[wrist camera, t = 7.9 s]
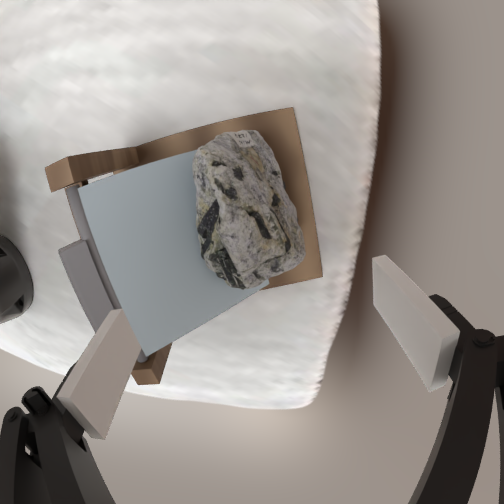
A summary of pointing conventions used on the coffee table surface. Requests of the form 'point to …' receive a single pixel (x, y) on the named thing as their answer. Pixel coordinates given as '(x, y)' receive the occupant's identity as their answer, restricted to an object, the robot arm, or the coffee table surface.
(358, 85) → the coffee table surface
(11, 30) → the coffee table surface
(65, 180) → the frame
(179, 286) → the trapdoor
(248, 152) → the rock
